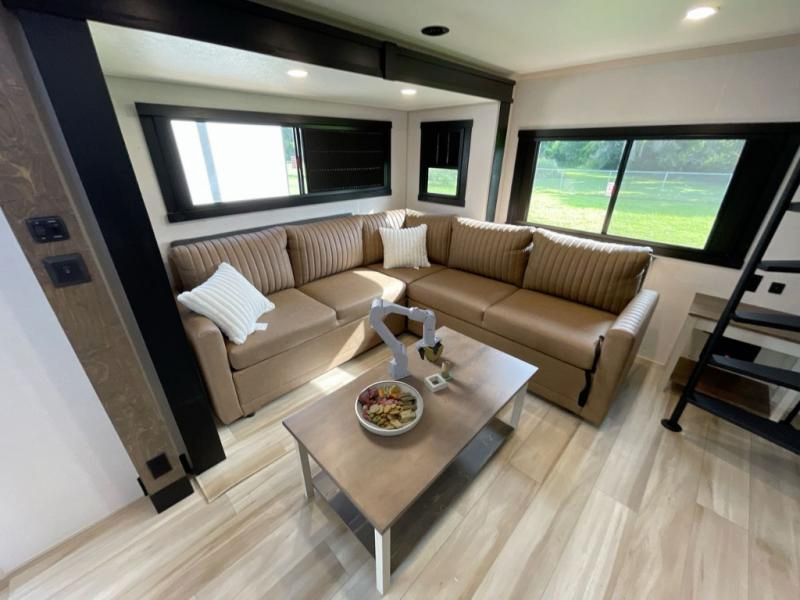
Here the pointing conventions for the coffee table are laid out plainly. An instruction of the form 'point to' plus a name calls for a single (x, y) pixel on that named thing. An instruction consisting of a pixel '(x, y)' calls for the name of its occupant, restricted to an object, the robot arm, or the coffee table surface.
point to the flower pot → (430, 354)
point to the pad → (447, 378)
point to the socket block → (436, 387)
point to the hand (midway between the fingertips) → (428, 356)
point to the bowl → (389, 407)
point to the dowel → (445, 369)
